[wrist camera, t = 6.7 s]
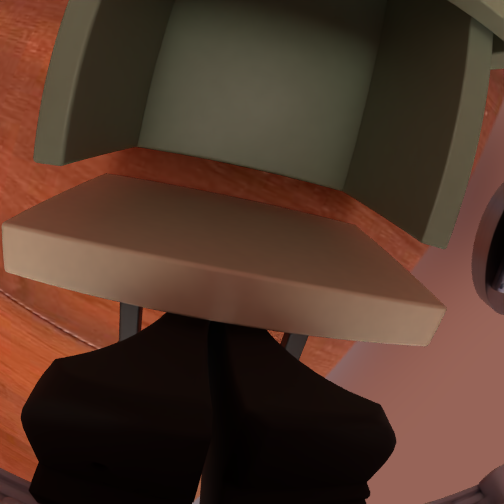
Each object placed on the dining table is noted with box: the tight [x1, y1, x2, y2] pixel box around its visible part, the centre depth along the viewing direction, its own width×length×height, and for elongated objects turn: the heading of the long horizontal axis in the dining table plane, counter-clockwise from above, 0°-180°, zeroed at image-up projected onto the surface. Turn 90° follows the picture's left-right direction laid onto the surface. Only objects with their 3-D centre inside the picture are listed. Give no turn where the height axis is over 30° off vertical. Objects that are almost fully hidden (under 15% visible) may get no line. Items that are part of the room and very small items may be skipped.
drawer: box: [2, 0, 493, 360], centre depth 8 cm, size 17×10×7 cm, turn 167°
